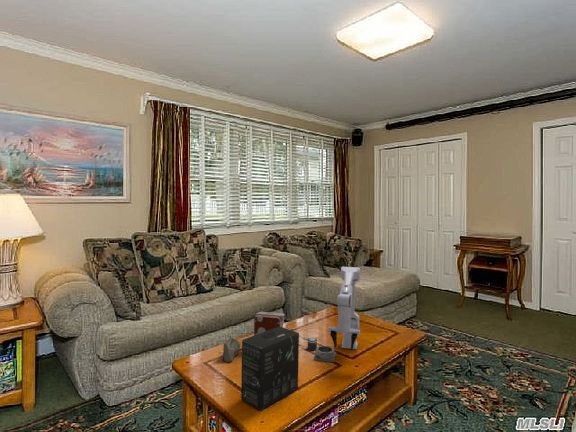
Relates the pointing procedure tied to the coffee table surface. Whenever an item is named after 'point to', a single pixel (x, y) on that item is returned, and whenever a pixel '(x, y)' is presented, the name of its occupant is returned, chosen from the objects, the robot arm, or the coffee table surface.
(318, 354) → the mount
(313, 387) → the coffee table surface
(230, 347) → the mineral rock
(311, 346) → the lens
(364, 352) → the coffee table surface
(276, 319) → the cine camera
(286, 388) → the headset box
